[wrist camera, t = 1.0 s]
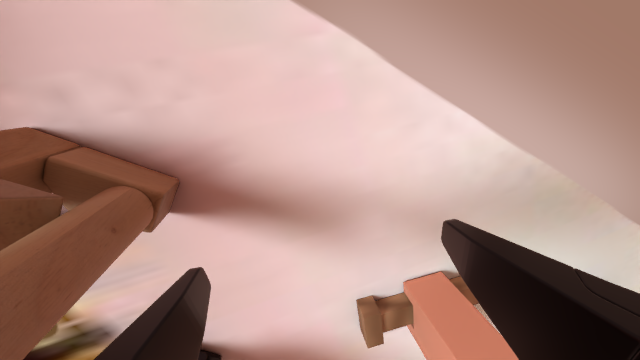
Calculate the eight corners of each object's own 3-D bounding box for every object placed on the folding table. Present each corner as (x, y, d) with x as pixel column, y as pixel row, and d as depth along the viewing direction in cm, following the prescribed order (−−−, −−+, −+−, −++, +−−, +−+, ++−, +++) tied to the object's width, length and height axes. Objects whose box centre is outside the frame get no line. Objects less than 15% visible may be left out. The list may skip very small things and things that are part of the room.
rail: (361, 331, 32) (376, 372, 27) (355, 296, 29) (371, 335, 25) (495, 290, 34) (531, 322, 29) (500, 255, 32) (539, 283, 27)
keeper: (405, 323, 32) (492, 473, 19) (403, 282, 30) (501, 424, 17) (440, 312, 33) (546, 451, 20) (441, 271, 30) (563, 401, 18)
